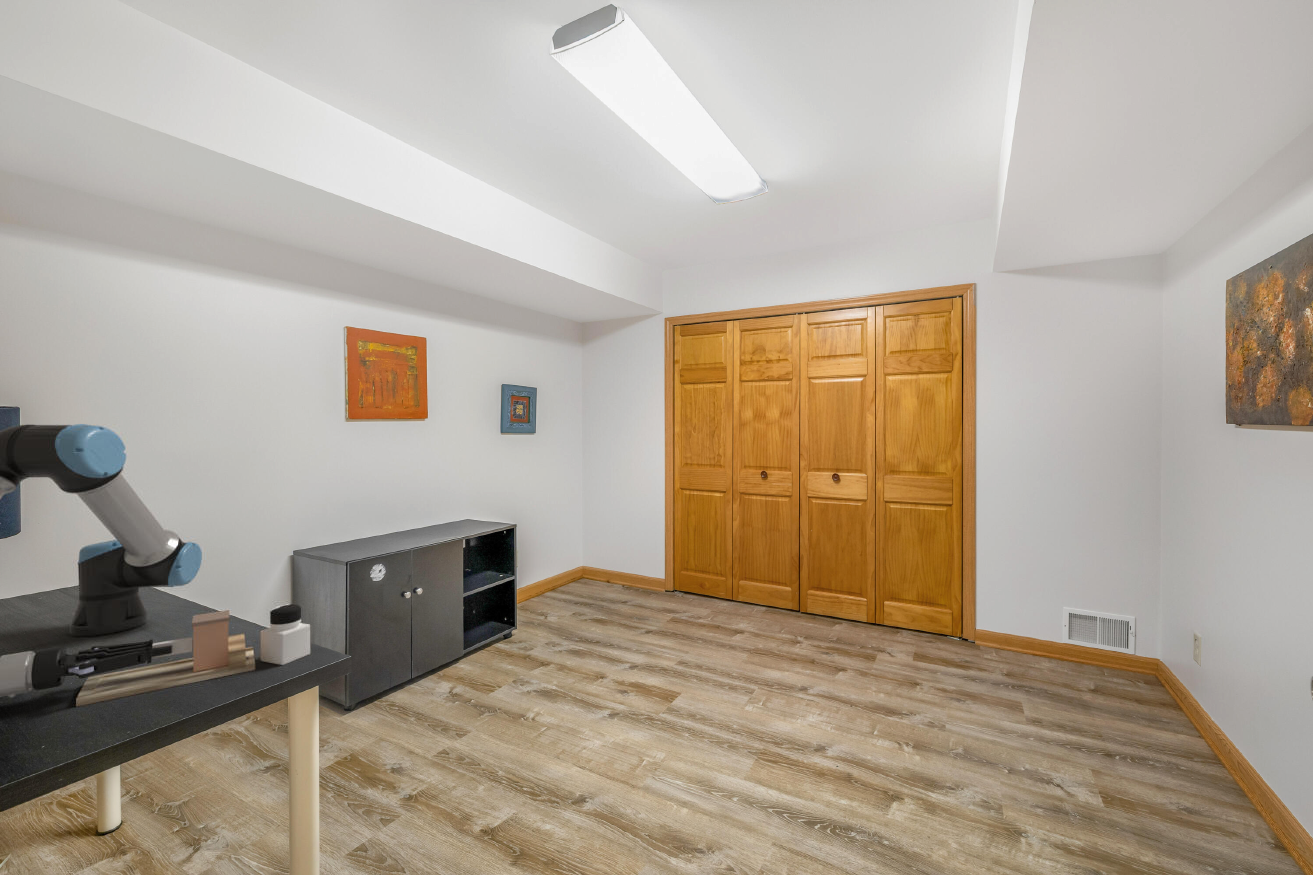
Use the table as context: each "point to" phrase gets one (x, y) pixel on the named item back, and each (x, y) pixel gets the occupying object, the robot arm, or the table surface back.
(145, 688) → the rail track
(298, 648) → the medicine bottle
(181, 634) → the table surface
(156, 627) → the table surface
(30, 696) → the table surface
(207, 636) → the pink box with lid
